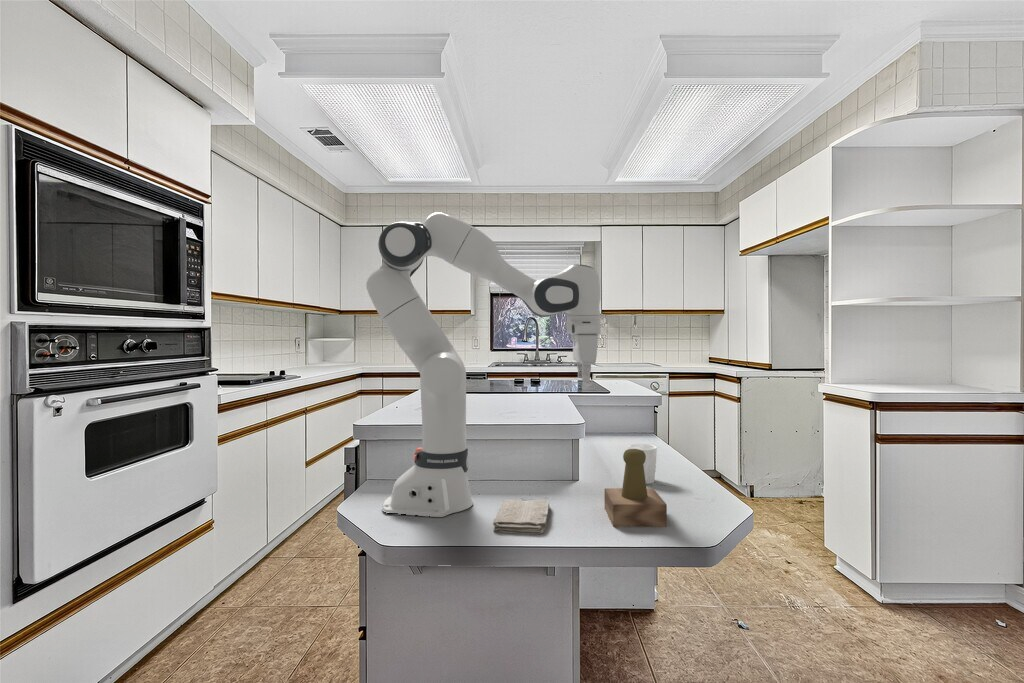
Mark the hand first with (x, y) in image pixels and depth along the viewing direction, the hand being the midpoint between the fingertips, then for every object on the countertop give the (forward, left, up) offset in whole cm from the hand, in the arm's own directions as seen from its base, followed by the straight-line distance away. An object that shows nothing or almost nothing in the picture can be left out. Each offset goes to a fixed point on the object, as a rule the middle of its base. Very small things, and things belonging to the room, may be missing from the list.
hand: (583, 379), depth 140 cm
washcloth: (-16, -16, -32) cm, 39 cm away
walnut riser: (+10, -15, -31) cm, 36 cm away
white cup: (+19, +15, -31) cm, 40 cm away
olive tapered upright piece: (+10, -15, -26) cm, 32 cm away
